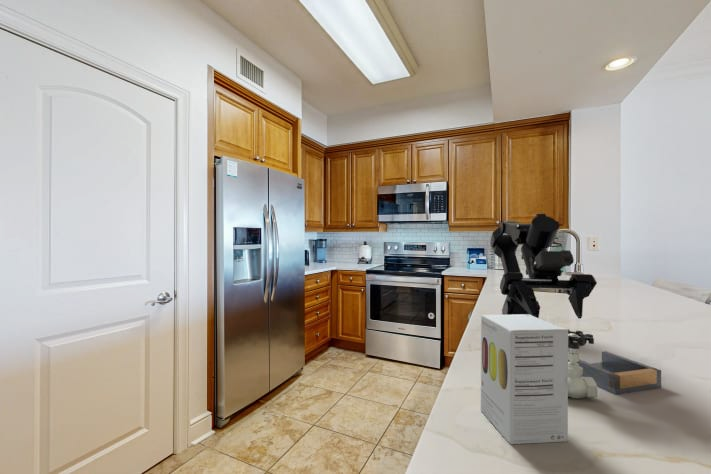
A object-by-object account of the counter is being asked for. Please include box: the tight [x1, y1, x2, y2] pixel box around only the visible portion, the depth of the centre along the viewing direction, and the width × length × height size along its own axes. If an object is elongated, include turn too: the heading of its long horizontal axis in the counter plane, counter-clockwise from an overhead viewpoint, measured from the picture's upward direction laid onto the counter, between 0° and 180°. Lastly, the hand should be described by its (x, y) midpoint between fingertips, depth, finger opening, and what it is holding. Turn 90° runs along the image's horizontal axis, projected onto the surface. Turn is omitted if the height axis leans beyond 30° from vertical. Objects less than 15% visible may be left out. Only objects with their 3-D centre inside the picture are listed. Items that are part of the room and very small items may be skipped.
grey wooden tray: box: [568, 350, 662, 395], centre depth 67 cm, size 11×12×4 cm
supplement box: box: [480, 314, 569, 445], centre depth 50 cm, size 10×9×17 cm
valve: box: [568, 329, 599, 399], centre depth 59 cm, size 7×7×12 cm
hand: (556, 316), depth 67 cm, fingers open, 9 cm apart
